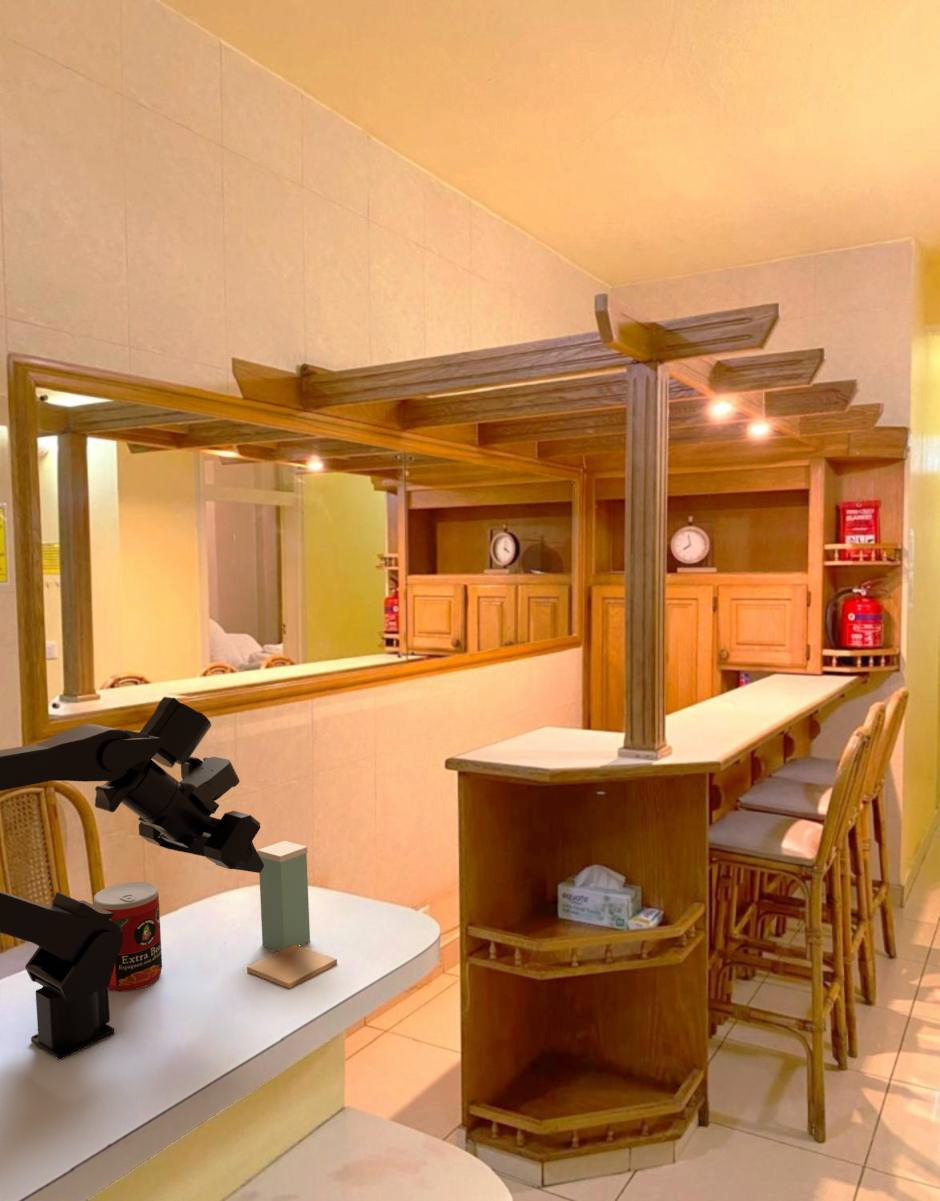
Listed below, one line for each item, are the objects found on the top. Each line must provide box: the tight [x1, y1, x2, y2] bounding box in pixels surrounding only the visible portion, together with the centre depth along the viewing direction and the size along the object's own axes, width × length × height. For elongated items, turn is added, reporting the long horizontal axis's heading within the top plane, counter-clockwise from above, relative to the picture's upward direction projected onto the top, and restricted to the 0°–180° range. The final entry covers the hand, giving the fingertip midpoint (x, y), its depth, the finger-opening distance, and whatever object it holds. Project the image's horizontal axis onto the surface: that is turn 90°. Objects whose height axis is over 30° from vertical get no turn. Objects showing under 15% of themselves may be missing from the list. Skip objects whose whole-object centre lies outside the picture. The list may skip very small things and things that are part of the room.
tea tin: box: [256, 840, 311, 952], centre depth 124 cm, size 5×5×13 cm
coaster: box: [246, 944, 338, 989], centre depth 117 cm, size 8×8×1 cm
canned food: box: [93, 881, 163, 992], centre depth 115 cm, size 8×8×11 cm
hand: (239, 862), depth 118 cm, fingers open, 9 cm apart
